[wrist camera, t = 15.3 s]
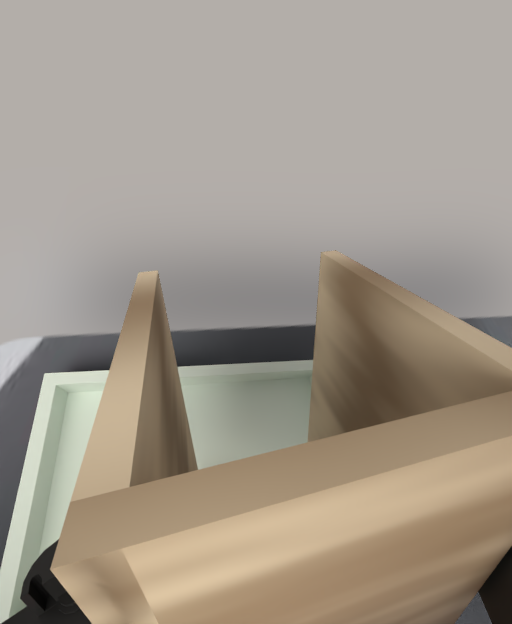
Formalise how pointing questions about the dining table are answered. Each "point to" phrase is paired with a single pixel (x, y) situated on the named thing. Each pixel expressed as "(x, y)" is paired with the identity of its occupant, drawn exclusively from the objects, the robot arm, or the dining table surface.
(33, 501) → the tray
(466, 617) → the dining table surface
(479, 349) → the tall wooden crate
